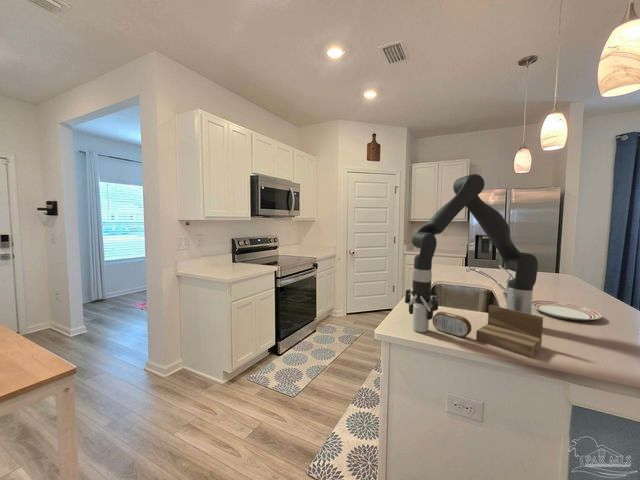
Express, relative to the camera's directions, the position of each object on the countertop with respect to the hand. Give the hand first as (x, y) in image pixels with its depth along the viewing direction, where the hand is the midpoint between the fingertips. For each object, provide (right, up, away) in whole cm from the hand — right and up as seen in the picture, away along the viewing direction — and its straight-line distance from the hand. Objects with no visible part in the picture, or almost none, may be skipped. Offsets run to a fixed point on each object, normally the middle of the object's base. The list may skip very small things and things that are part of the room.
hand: (420, 316), depth 120 cm
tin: (+12, -7, -3) cm, 14 cm away
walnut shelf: (+29, -7, -12) cm, 33 cm away
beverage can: (0, -6, 0) cm, 6 cm away
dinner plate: (+81, -5, +23) cm, 84 cm away
